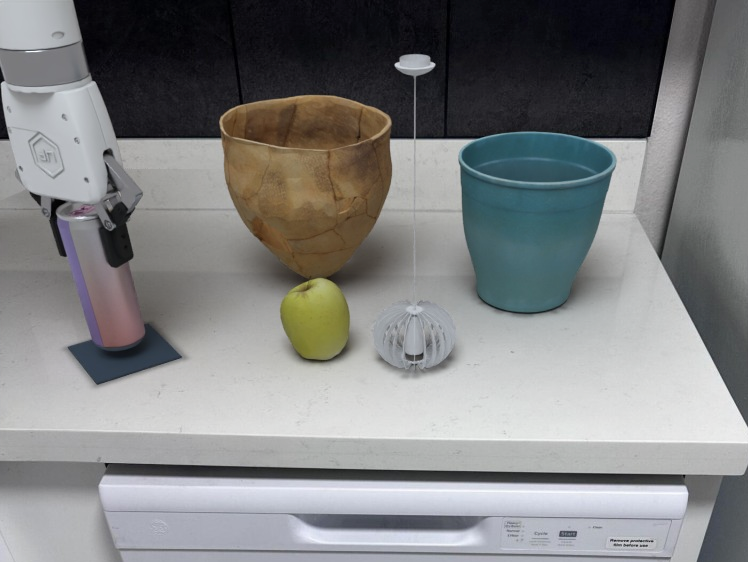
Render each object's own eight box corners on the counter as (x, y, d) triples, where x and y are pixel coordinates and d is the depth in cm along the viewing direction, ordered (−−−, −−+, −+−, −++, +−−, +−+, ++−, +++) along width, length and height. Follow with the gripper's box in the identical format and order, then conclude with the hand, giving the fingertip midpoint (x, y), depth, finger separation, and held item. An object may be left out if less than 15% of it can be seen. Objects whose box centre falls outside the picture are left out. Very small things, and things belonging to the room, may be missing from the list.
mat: (67, 348, 93) (67, 346, 92) (148, 324, 97) (148, 322, 97) (96, 384, 86) (96, 383, 86) (181, 357, 91) (181, 356, 91)
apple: (374, 338, 91) (350, 266, 83) (325, 381, 89) (296, 311, 81) (330, 316, 96) (303, 246, 88) (282, 356, 93) (250, 288, 85)
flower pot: (591, 333, 94) (616, 186, 83) (442, 320, 97) (447, 176, 85) (595, 270, 107) (617, 135, 96) (463, 260, 110) (469, 128, 98)
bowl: (418, 262, 110) (419, 103, 96) (351, 325, 96) (341, 151, 83) (289, 238, 116) (273, 87, 103) (209, 295, 103) (179, 128, 89)
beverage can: (82, 348, 89) (41, 214, 79) (112, 324, 94) (77, 194, 83) (127, 356, 88) (91, 221, 78) (156, 332, 92) (125, 200, 82)
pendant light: (356, 358, 90) (341, 58, 70) (413, 330, 95) (414, 42, 75) (414, 389, 85) (415, 75, 65) (471, 358, 90) (489, 57, 70)
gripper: (-57, 65, 72) (10, 257, 84) (91, 84, 67) (139, 286, 79) (5, 49, 77) (59, 232, 89) (147, 65, 72) (184, 257, 84)
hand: (96, 255), depth 84 cm, fingers closed on beverage can, 6 cm apart
